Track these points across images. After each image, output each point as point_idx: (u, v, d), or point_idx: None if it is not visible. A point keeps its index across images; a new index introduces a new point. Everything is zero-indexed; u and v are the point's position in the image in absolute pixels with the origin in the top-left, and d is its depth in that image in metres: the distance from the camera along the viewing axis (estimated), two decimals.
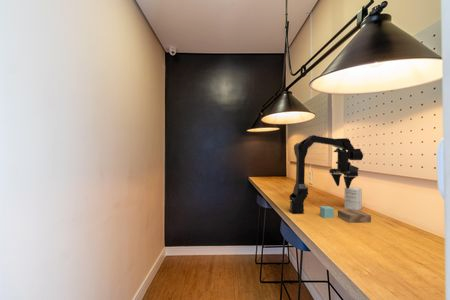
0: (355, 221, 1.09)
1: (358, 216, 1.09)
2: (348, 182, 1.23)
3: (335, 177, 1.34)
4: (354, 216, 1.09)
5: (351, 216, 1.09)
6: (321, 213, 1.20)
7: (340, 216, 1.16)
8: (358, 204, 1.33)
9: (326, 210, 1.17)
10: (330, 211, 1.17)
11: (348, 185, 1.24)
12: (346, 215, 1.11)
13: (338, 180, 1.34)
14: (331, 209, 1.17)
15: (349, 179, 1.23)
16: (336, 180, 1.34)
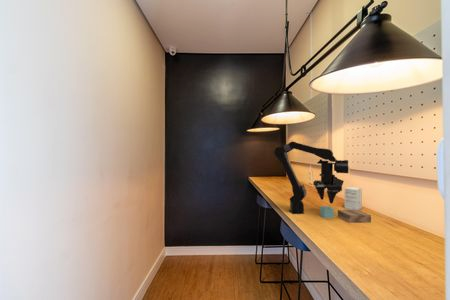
0: (355, 221, 1.09)
1: (358, 216, 1.09)
2: (332, 197, 1.14)
3: (319, 190, 1.24)
4: (354, 216, 1.09)
5: (351, 216, 1.09)
6: (321, 213, 1.20)
7: (340, 216, 1.17)
8: (358, 204, 1.33)
9: (326, 210, 1.17)
10: (330, 211, 1.17)
11: (332, 200, 1.14)
12: (346, 215, 1.11)
13: (322, 193, 1.24)
14: (331, 209, 1.17)
15: (333, 193, 1.14)
16: (320, 193, 1.24)
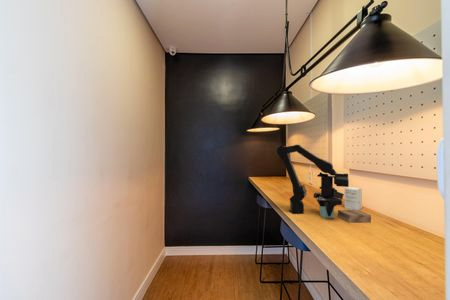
0: (355, 221, 1.09)
1: (358, 216, 1.09)
2: (330, 209, 1.16)
3: (321, 203, 1.22)
4: (354, 216, 1.09)
5: (350, 216, 1.09)
6: (321, 213, 1.20)
7: (340, 216, 1.17)
8: (358, 204, 1.33)
9: (326, 210, 1.17)
10: None
11: (330, 213, 1.16)
12: (346, 215, 1.12)
13: None
14: None
15: (331, 206, 1.16)
16: None
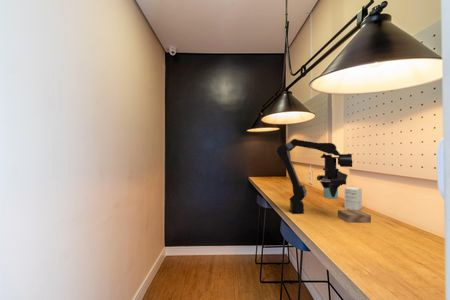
0: (354, 221, 1.09)
1: (357, 216, 1.09)
2: (334, 190, 1.15)
3: (325, 185, 1.22)
4: (353, 216, 1.09)
5: (350, 216, 1.09)
6: (325, 194, 1.19)
7: (340, 216, 1.17)
8: (358, 204, 1.33)
9: (330, 191, 1.16)
10: None
11: (334, 193, 1.15)
12: (345, 215, 1.12)
13: None
14: None
15: (335, 187, 1.15)
16: None
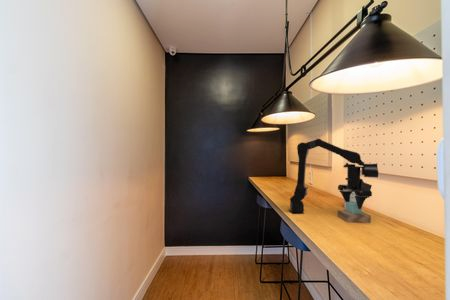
0: (354, 221, 1.09)
1: (357, 216, 1.09)
2: (360, 202, 1.09)
3: (345, 195, 1.19)
4: (353, 216, 1.09)
5: (350, 216, 1.09)
6: (347, 209, 1.15)
7: (340, 216, 1.17)
8: None
9: (353, 206, 1.12)
10: None
11: (360, 205, 1.09)
12: (345, 215, 1.12)
13: (347, 198, 1.19)
14: None
15: (361, 199, 1.09)
16: (346, 198, 1.19)
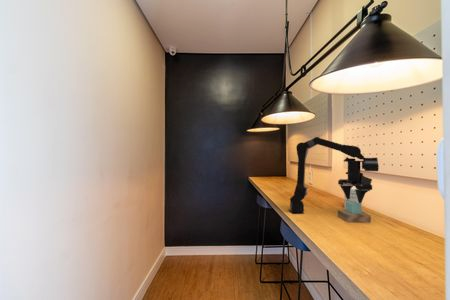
0: (354, 221, 1.09)
1: (357, 216, 1.10)
2: (361, 196, 1.09)
3: (345, 189, 1.19)
4: (353, 216, 1.10)
5: (350, 216, 1.10)
6: (347, 209, 1.15)
7: (340, 216, 1.17)
8: None
9: (353, 206, 1.11)
10: (358, 206, 1.12)
11: (361, 199, 1.09)
12: (345, 215, 1.12)
13: (348, 192, 1.19)
14: (359, 205, 1.12)
15: (362, 193, 1.09)
16: (346, 193, 1.19)
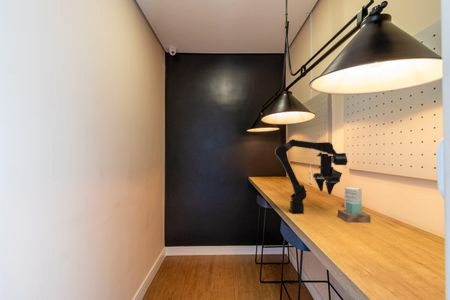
0: (354, 221, 1.10)
1: (357, 216, 1.10)
2: (330, 188, 1.19)
3: (318, 182, 1.30)
4: (353, 216, 1.10)
5: (349, 216, 1.10)
6: (347, 209, 1.15)
7: (340, 216, 1.17)
8: None
9: (354, 205, 1.12)
10: (358, 206, 1.12)
11: (330, 191, 1.20)
12: (345, 215, 1.12)
13: (321, 185, 1.30)
14: (359, 204, 1.12)
15: (331, 185, 1.19)
16: (319, 185, 1.30)
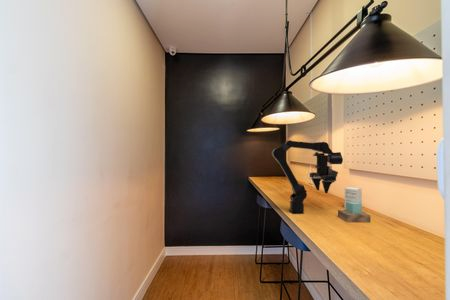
0: (354, 221, 1.10)
1: (357, 216, 1.10)
2: (326, 187, 1.21)
3: (315, 181, 1.31)
4: (353, 216, 1.10)
5: (349, 216, 1.10)
6: (348, 209, 1.15)
7: (340, 216, 1.17)
8: None
9: (354, 206, 1.12)
10: (358, 206, 1.12)
11: (327, 190, 1.21)
12: (345, 215, 1.12)
13: (318, 184, 1.31)
14: (359, 204, 1.12)
15: (327, 184, 1.21)
16: (316, 184, 1.31)
